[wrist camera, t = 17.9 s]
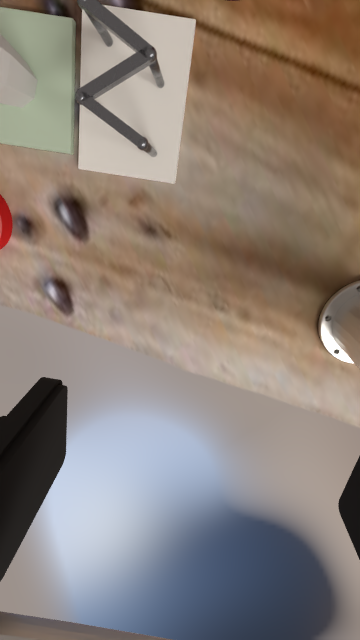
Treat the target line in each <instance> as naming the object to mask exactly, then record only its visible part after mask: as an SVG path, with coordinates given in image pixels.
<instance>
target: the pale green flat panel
mask: <svg viewBox="0 0 360 640" xmlns="http://www.w3.org/2000/svg"><path fill="white" fill-rule="evenodd" d="M0 34H1V35H2V36H3V37H4V38H5V39H6V40H7V41H8V42H9V44H10V45H11V46H12V47H13V48H14V49H15V50H16V51H17V52H18V54H19V55H20V56H21V57H22V58H23V59H24V60H25V61H26V62H27V64H28V65H29V67H30V69H31V70H32V72H33V74H34V75H35V77H36V79H37V80H38V82H37V87H36V92H35V98H34V99H33V100H32V101H30V102H29V103H28V104H27V105H25V106H24V107H23V108H20V107H16V106H11V105H6V104H1V103H0V143H1V144H7V145H13V146H20V147H26V148H33V149H39V150H45V151H52V152H58V153H65V154H71V155H74V100H75V45H76V22H75V21H74V20H73V18H68V17H61V16H55V15H48V14H42V13H36V12H29V11H23V10H17V9H10V8H4V7H0Z"/></svg>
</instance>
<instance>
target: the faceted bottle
mask: <svg viewBox="0 0 360 640" xmlns="http://www.w3.org/2000/svg"><path fill="white" fill-rule="evenodd" d="M37 82H38V80H37V79H36V77H35V75H34V74H33V72H32V70H31V69H30V67H29V65H28V64H27V62H26V61H25V60H24V59H23V58H22V57H21V56H20V55H19V54H18V52H17V51H16V50H15V49H14V48H13V47H12V46H11V45H10V44H9V42H8V41H7V40H6V39H5V38H4V37H3V36H2V35H1V34H0V103H1V104H6V105H11V106H16V107H20V108H23V107H24V106H25V105H27V104H28V103H29V102H30V101H32V100H33V99H34V98H35V92H36V87H37Z"/></svg>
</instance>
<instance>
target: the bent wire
mask: <svg viewBox="0 0 360 640" xmlns="http://www.w3.org/2000/svg"><path fill="white" fill-rule="evenodd" d="M77 2H78V5H79V6H80V8H81V9H83V10H84V11H85V13H86V14H87V16H88V17H89V19H90V21H91V22H92V24H93V25H94V27H95V28H96V30H97V32H98V33H99V35H100V36H101V38H102V40H103V41H104V43H105V44H106V46H108V47H110V46H112V44H113V39H112V37H111V36H110V34H109V32H108V30H109V31H110V32H111V33H112V34H114V35H115V36H116V37H117V38H119V39H120V40H121V41H122V42H124V43H125V44H126V45H127V46H128V47H130V48H131V49H132V50H133V51H135V52H136V53H135V54H133V55H132V56H130V57H128V58H127V59H125V60H124V61H122V62H120V63H119V64H117V65H116V66H114V67H113V68H111V69H109V70H108V71H106V72H105V73H103V74H101V75H100V76H98V77H97V78H95V79H94V80H92V81H90V82H89V83H87V84H86V85H84V86H82V87H81V88H79V89H78V90H77V91H76V93H75V99H76V101H77V102H78V103H79V104H80V105H83V106H85V107H86V108H87V109H88V110H90V111H91V112H92V113H94V114H95V115H96V116H98V117H99V118H100V119H102V120H103V121H104V122H106V123H107V124H108V125H110V126H111V127H112V128H114V129H115V130H116V131H118V132H119V133H120V134H121V135H123V136H124V137H125V138H127V139H128V140H129V141H131V142H132V143H133V144H135V145H136V146H137V148H138V149H140V150H144V151H145V152H146V153H147V154H149V155H150V156H151V157H155V156H156V155H157V151H156V150H155V149H154V148H153V147H152V146H151V145H150V144H149V142H148V140H147V138H146V137H144V136H141V135H140V134H139V133H137V132H136V131H135V130H134V129H132V128H131V127H130V126H128V125H127V124H126V123H124V122H123V121H122V120H121V119H119V118H118V117H117V116H115V115H114V114H113V113H111V112H110V111H109V110H107V109H106V108H105V107H104V106H102V105H101V104H100V103H98V102H97V101H96V100H94V99H96V98H97V97H99V96H101V95H102V94H104V93H106V92H107V91H109V90H110V89H112V88H114V87H115V86H117V85H119V84H120V83H122V82H123V81H125V80H127V79H128V78H130V77H132V76H133V75H135V74H136V73H138V72H140V71H141V70H143V69H145V68H146V67H148V66H149V67H150V69H151V72H152V74H153V77H154V79H155V82H156V84H157V86H158V87H159V88H162V87H163V86H164V79H163V76H162V73H161V70H160V67H159V64H158V60H157V51H156V49H155V48H154V47H153V46H152V45H150V44H149V43H148V42H147V41H145V40H144V39H143V38H142V37H141V36H139V35H138V34H137V33H136V32H135V31H133V30H132V29H131V28H130V27H129V26H127V25H126V24H125V23H124V22H123V21H121V20H120V19H119V18H118V17H116V16H115V15H114V14H113V13H112V12H110V11H109V10H108V9H107V8H106V7H104V6H103V5H102V4H101V3H100V2H98V1H97V0H77ZM107 29H108V30H107Z"/></svg>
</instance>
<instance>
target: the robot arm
mask: <svg viewBox="0 0 360 640" xmlns="http://www.w3.org/2000/svg"><path fill="white" fill-rule="evenodd" d="M357 287H358V288H357ZM326 316H327V317H326ZM325 317H326V318H325ZM318 330H319V336H320V340H321V341H322V343H323V345H324V347H325V348H326V349H327V350H328V352H329V353H330V354H331V355H333V356H334V357H336V358H337V359H339V360H341V361H344V362H347V363H353V364H355V365H356V366H357V367H358V368H359V369H360V280H359V281H356V282H353V283H351V284H348V285H347V286H345V287H343V288H342V289H340V290H339V291H338V292H336V293H335V294H334V295H333V296H332V297H331V298H330V299H329V300H328V302H327V303H326V305H325V306H324V308H323V310H322V312H321V315H320V318H319V324H318ZM66 427H67V386H64V385H62V381H61V380H58V379H51V378H46V377H42V378H40V379H39V380H38V382H37V383H36V384H35V385H34V386H33V387H32V388H31V389H30V390H29V392H28V393H27V394H26V395H25V396H24V397H23V398H22V399H21V400H20V402H19V403H18V404H17V405H16V406H15V407H14V408H13V409H12V411H11V412H10V413H9V414H8V415H7V416H2V417H0V581H1V580H2V578H3V576H4V575H5V573H6V571H7V569H8V567H9V565H10V563H11V561H12V560H13V558H14V556H15V554H16V552H17V550H18V548H19V546H20V544H21V542H22V541H23V539H24V537H25V535H26V533H27V531H28V529H29V527H30V525H31V523H32V522H33V520H34V518H35V516H36V513H37V512H38V510H39V508H40V506H41V505H42V503H43V501H44V499H45V497H46V495H47V493H48V491H49V489H50V487H51V485H52V484H53V482H54V480H55V478H56V476H57V474H58V472H59V470H60V468H61V467H62V465H63V462H64V459H65V455H66ZM339 512H340V514H341V517H342V519H343V522H344V524H345V526H346V529H347V531H348V533H349V536H350V538H351V541H352V543H353V545H354V547H355V550H356V552H357V555H358V557H359V559H360V456H359V459H358V461H357V463H356V465H355V467H354V469H353V471H352V474H351V476H350V478H349V480H348V482H347V484H346V486H345V489H344V491H343V493H342V495H341V497H340V499H339ZM0 640H171V639H165V638H160V637H154V636H148V635H142V634H136V633H131V632H125V631H119V630H113V629H107V628H102V627H96V626H89V625H84V624H78V623H72V622H66V621H60V620H53V619H46V618H40V617H33V616H27V615H20V614H13V613H7V612H0Z"/></svg>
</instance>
